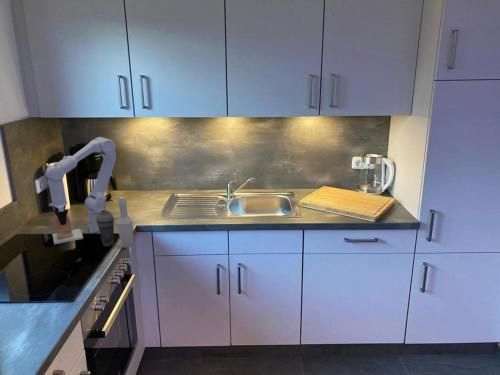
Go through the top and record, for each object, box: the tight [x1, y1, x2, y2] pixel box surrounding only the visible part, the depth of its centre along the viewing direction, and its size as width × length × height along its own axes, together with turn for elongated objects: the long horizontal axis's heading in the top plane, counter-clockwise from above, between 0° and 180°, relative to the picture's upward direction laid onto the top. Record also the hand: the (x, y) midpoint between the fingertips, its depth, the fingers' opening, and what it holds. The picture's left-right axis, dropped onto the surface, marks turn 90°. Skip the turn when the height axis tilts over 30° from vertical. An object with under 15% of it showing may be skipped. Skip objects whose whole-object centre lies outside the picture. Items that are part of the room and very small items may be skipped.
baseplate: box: [52, 228, 84, 245], centre depth 188 cm, size 12×11×1 cm
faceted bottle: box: [117, 196, 134, 249], centre depth 174 cm, size 6×6×22 cm
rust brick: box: [53, 215, 72, 230], centre depth 184 cm, size 4×6×4 cm, turn 119°
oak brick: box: [55, 227, 72, 239], centre depth 186 cm, size 4×6×4 cm, turn 119°
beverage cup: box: [96, 200, 115, 247], centre depth 176 cm, size 7×7×20 cm
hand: (62, 221), depth 184 cm, fingers open, 7 cm apart
